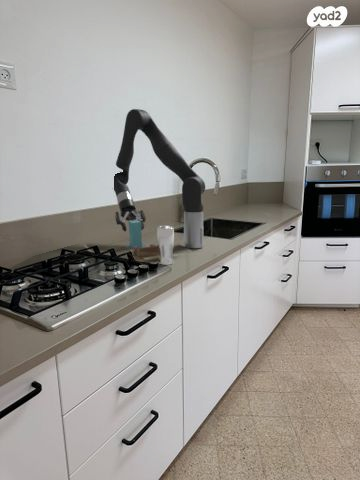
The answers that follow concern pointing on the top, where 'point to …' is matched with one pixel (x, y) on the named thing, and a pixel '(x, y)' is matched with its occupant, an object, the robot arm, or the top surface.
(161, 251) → the beer glass
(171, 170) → the robot arm
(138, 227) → the teal block
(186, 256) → the top surface
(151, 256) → the walnut bracket
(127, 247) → the pad
